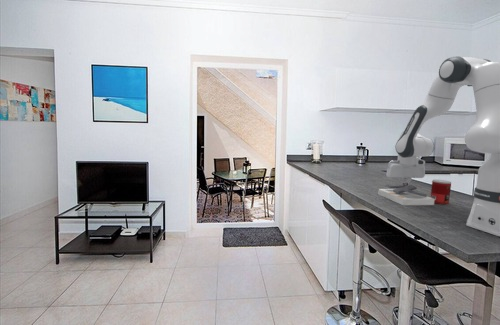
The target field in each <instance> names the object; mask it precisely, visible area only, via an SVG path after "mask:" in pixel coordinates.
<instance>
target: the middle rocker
mask: <svg viewBox="0 0 500 325" xmlns="http://www.w3.org/2000/svg"><path fill="white" fill-rule="evenodd" d="M403 188H405V189H409V190H412V191H416V190H417V186H415V185H411V184H409V186H405V187H401V188H393V189H394V190H393V192H395V193H398V194H400V193H404V192H406V191H403Z"/></svg>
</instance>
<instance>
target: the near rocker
mask: <svg viewBox="0 0 500 325" xmlns="http://www.w3.org/2000/svg"><path fill="white" fill-rule="evenodd" d="M403 191H406V192H408V193H412V194H416V195H420V196H424V197H426V196H427V197H428V194H425V193H424V192H420V191H416V190H409V189H405V188H403Z"/></svg>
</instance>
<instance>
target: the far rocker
mask: <svg viewBox="0 0 500 325" xmlns="http://www.w3.org/2000/svg"><path fill="white" fill-rule="evenodd" d="M385 187H386V188H387V189H398V188H401V187H405V186H402V185H400V184H385Z"/></svg>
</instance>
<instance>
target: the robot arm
mask: <svg viewBox="0 0 500 325" xmlns="http://www.w3.org/2000/svg"><path fill="white" fill-rule="evenodd" d="M464 86H467V87H472V90H473V95H474V101H475V102H474V103H475V110H476V114H475V115H476V116H475V120H474V123H473V125H472V126H470V128H469V129H468V130H467V131H466V134H465V136H464V144H465V146H466V147H467V148H468V149H469V150H470V151H472V152H477V153H482V154H489V155H490V156H489V158H488V160H487V161H486V162H485V163H484V164H482V165H481V166H480V167H479V168H478V171H477V178H476V185H475V186H476V187H474V191H473V197H474V199H473V203H472V205H471V209H470V212H469V215H468V218H467V219H466V224H465V225H466V226H467V227H470V228H473V229H475V230H479V231H481V232H486V233H488V234H491V235H494V236H496V237H500V61H491V60H489V59H485V58H483V59H482V58H479V57H478V58H477V57H473V56H451V57H447V58H446V59H445V60H444V61H442V63H441V65H440V66H439V69H438V74H437V75H436V77H435V78H434V80H433V82H432V83H431V85H430V87H429V90H428V92H427V95H426V98H425V99H424V101H423V102H422V103H421V104H420V105H419V106H418V107H417V108H416V109H415V110H414V112H413V114H412V115H411V117H410V119H409V121H408V123H407V125H406V127H405V128H404V131H402V132H401V133H400V136H399V139H398V140H397V142H396V144H395V145H394V146H395V148H394V149H395V151H396V153H397V160H390V161H389V162H388V163H387V169H386V173H385V174H386V175H385V176H386V177H387V178H388V179H389V178H390V179H398V181H399V185H402V186H409V185H410V183H411V181H412V179H423V178H424V177H425V175H426V167H425V164H426V161H425V160H424V159H421V158H420V157H428V156H431V155H432V154H433V153H434V150H435V143H434V141H433V140H432V139H431V138H429V137H426V136H424V135H422V134H420V133H419V132H420V130H421V129H422V126H423V125H424V124H425V123H426V122H427V121H429V120H431V119H433V118H435V117H439V116H441V115H444V114H446V113H448V111H449V110H450V109H451V108H452V106H453V104H454V102H455V99H456V97H457V95H458V92H459V90H460V89H461V88H462V87H464ZM418 157H419V158H418ZM404 179H406V181H404Z"/></svg>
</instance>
